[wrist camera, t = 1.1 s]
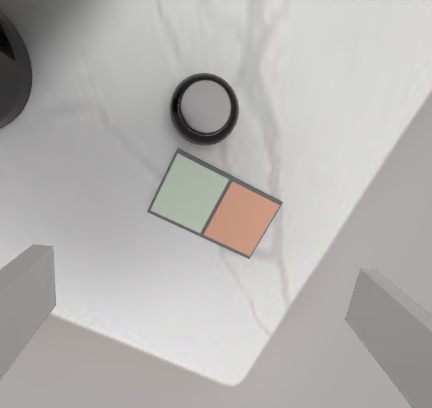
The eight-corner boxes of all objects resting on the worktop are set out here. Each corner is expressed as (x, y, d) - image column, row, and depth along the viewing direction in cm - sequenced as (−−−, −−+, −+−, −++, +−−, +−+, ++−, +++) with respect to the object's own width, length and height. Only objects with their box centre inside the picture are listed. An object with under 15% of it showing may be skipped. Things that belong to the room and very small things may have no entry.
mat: (148, 210, 38) (147, 212, 37) (178, 148, 36) (177, 148, 35) (248, 257, 41) (249, 259, 40) (281, 201, 39) (283, 203, 38)
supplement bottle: (231, 140, 36) (246, 146, 25) (178, 144, 36) (169, 151, 24) (228, 83, 34) (243, 61, 23) (173, 87, 34) (160, 66, 22)
